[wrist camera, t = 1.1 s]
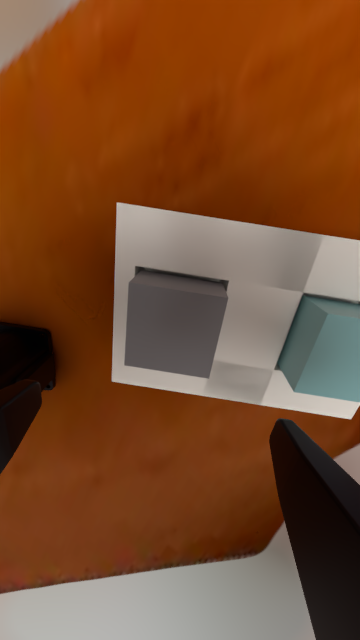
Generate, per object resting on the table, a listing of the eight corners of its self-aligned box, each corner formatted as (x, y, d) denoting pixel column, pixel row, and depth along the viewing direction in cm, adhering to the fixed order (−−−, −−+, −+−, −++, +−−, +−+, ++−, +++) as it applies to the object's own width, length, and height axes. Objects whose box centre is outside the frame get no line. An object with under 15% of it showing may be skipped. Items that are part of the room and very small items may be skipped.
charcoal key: (136, 340, 16) (124, 365, 14) (141, 269, 14) (128, 282, 11) (206, 351, 16) (208, 378, 13) (222, 282, 14) (228, 297, 11)
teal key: (277, 362, 16) (293, 392, 14) (302, 295, 14) (328, 313, 11) (347, 373, 16) (378, 405, 13) (383, 307, 14) (427, 329, 11)
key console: (126, 352, 21) (111, 381, 17) (134, 206, 16) (116, 202, 12) (323, 384, 21) (351, 419, 17) (392, 246, 16) (450, 255, 12)
